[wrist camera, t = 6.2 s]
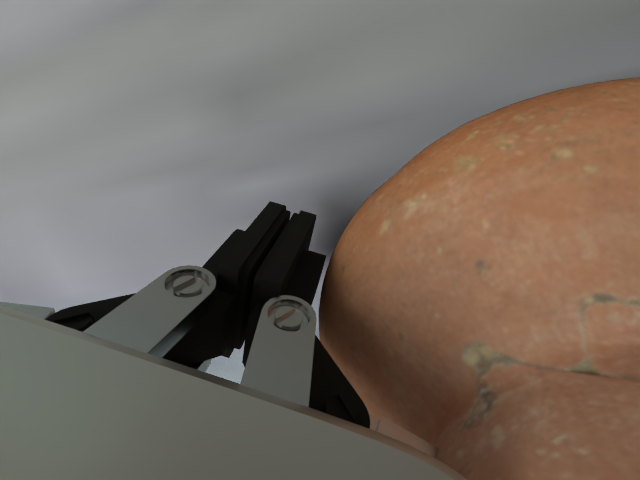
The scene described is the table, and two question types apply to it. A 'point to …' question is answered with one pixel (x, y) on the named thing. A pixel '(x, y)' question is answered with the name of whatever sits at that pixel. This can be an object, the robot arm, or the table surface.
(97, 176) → the table surface
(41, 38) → the table surface
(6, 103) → the table surface
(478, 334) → the ceramic jug
